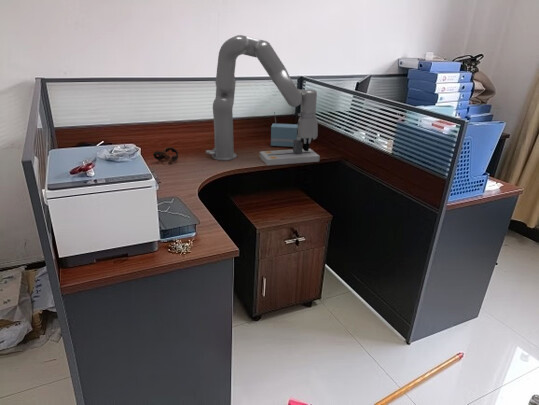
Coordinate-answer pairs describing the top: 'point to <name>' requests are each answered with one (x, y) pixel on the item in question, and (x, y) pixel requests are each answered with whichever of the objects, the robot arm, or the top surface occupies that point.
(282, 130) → the radio
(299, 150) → the fader knob
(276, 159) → the panel
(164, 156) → the dark linked rings
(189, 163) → the top surface
